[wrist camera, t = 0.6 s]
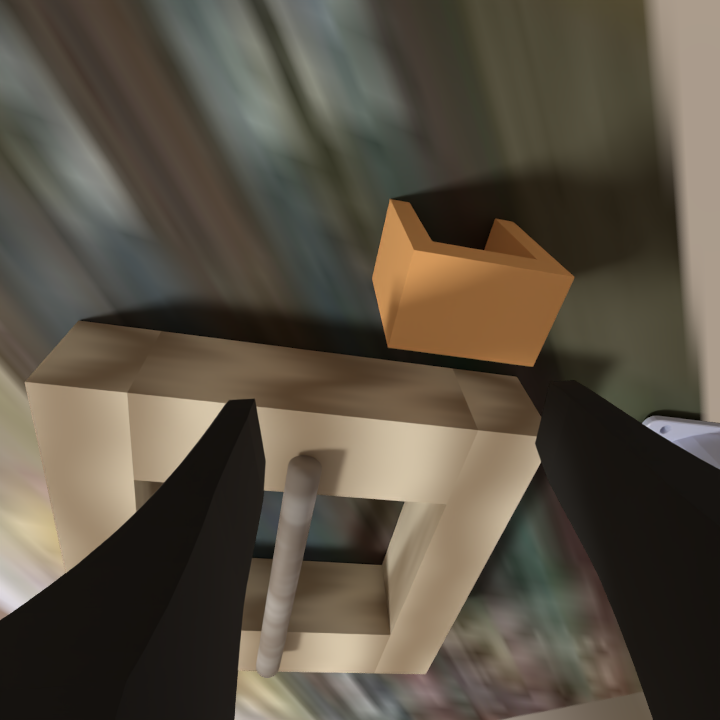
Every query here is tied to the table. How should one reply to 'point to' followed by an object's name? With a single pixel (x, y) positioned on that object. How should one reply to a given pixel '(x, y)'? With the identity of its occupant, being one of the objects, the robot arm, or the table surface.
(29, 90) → the table surface
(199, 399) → the rectangular frame
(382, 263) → the bracket
